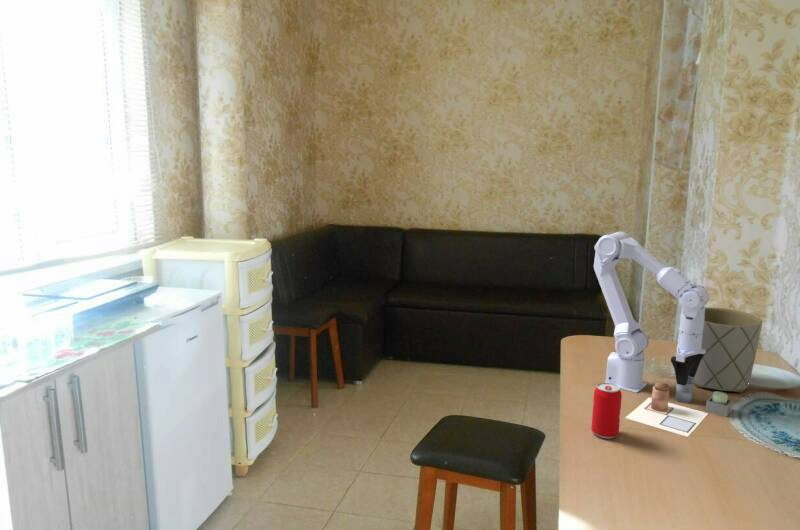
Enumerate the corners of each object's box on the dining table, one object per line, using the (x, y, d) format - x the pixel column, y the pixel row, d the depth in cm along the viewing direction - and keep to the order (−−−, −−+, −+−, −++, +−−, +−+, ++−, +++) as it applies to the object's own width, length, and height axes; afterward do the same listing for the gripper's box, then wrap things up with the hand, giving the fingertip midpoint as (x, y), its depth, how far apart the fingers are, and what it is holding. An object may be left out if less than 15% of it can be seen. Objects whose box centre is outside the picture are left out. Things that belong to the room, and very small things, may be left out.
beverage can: (618, 430, 151) (622, 383, 148) (618, 442, 145) (622, 393, 142) (591, 426, 153) (595, 380, 150) (590, 437, 147) (594, 389, 144)
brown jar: (648, 408, 162) (651, 385, 161) (654, 403, 165) (656, 380, 164) (664, 413, 160) (666, 389, 158) (669, 408, 163) (672, 384, 161)
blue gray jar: (673, 400, 168) (675, 378, 167) (677, 396, 171) (680, 374, 170) (688, 405, 165) (691, 382, 164) (693, 400, 168) (695, 377, 167)
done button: (710, 405, 161) (711, 394, 160) (713, 401, 164) (715, 390, 163) (724, 409, 159) (725, 398, 158) (728, 404, 161) (729, 393, 161)
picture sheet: (625, 418, 157) (625, 417, 157) (649, 397, 170) (649, 397, 170) (687, 437, 147) (687, 436, 147) (708, 414, 160) (708, 413, 160)
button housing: (705, 411, 161) (706, 400, 161) (710, 405, 165) (711, 395, 164) (726, 417, 158) (727, 406, 158) (731, 411, 162) (732, 400, 161)
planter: (759, 399, 169) (769, 329, 165) (683, 390, 175) (690, 321, 171) (746, 374, 187) (754, 310, 183) (677, 366, 193) (683, 304, 189)
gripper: (698, 341, 156) (693, 392, 159) (714, 328, 167) (709, 376, 170) (669, 335, 161) (664, 385, 163) (687, 323, 171) (682, 370, 174)
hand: (685, 380), depth 167 cm, fingers open, 7 cm apart
